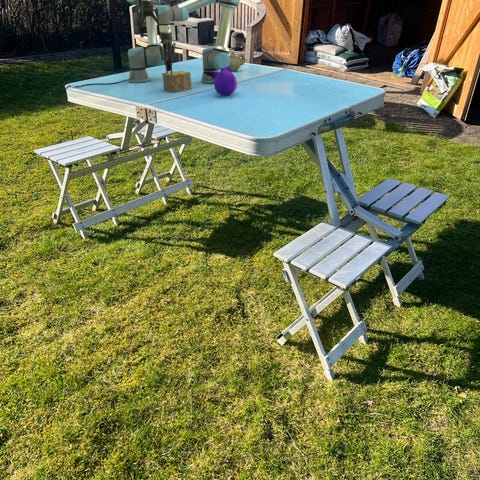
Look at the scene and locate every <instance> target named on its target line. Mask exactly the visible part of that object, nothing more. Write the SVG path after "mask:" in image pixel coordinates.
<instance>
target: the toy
mask: <svg viewBox="0 0 480 480" xmlns="http://www.w3.org/2000/svg"><path fill="white" fill-rule="evenodd" d="M203 73H205V74H206V75H208V76H210V77H212V78H214V79H215V81H214V83H213V84H214V89H215V92H216V93H217V94H218V95H220V96H223V97H229V96H231V95H233V94H234V93H235V91H236V90H237V87H238V80H237V77H236V75H235V74H234V73H233V72H232V71H231V69H230V67H225V68H222V69H221V70H219V72H210V71H206V72H203V71H202V74H203Z"/></svg>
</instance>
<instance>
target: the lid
mask: <svg viewBox="0 0 480 480" xmlns="http://www.w3.org/2000/svg"><path fill="white" fill-rule="evenodd" d="M169 65H170V68H171V71H166V70H165V72H162V73H161V76H162V77H163V76H168V77H175V76H181V75H188V74H191V71H185V70H176V71H173V62H172V63H169Z"/></svg>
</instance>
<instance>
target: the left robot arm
mask: <svg viewBox="0 0 480 480" xmlns="http://www.w3.org/2000/svg"><path fill="white" fill-rule="evenodd" d="M125 1H126V2H127V3H129V4H130V5H133V6H136V7H141V8H138V9H137V15H136V20H135V23H134V24H135V26H137V27H138V32H139V36H140V38H145V35H144V34H145V33H144V26H143V24H144V22H145V23H146V24H145V25H146V34H147V35H146V36H147V44H146V48H144V47H143V46H138V47H132V48H130V49H128V50H127V56H128V64H129V65H128V66H129V76H128V79H124V80H120V81H115V82H105V83H103V82H97V83H95V82H94V83H86V84H80V85H81V86H80V85H74V86H75V87H74V88H81V87H86V86H95V85H97V86H98V85H99V86H101V85H103V86H104V85H106V86H108V85H115V84H120V83H124V82H127V81H128V82H129V83H133V84H141V83H148V82H150V76H149V74H148V71H147V67H153V66H154V67H158V66H163V65H165V62H164V60H162V59H161V54H160V50H159V47H158V44H160V43H161V38H160V33H161V32H160V29H159V18H158V6H160V5H161V0H125ZM163 51H164V50H163ZM71 86H72V85H67V86H66V87H64V90H67V89H68V88H72V87H71ZM70 135H71V140H72V141H74V135H73V130H72V129H71V130H70Z"/></svg>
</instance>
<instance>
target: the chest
mask: <svg viewBox="0 0 480 480" xmlns="http://www.w3.org/2000/svg"><path fill="white" fill-rule="evenodd" d="M162 82H163V91H164V92H169V93H179V92H183V91H188V90H191V89H192V77H191V73H190V74H188V75H181V76H175V77H168V76H163V75H162Z"/></svg>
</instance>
